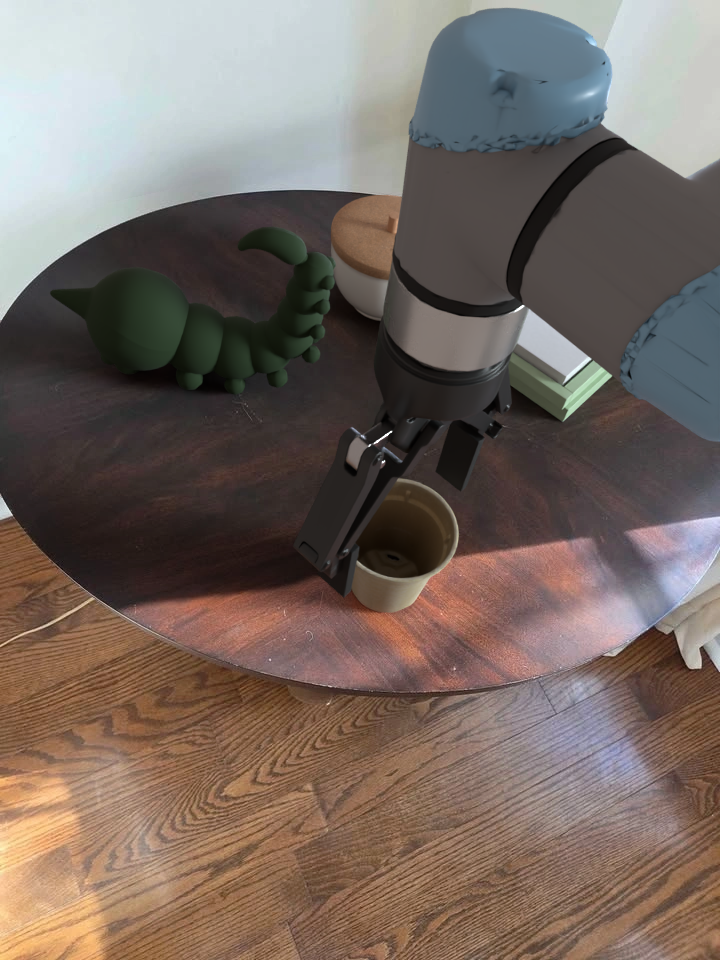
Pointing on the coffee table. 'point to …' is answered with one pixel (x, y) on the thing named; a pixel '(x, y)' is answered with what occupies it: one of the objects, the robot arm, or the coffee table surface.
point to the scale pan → (549, 350)
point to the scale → (556, 386)
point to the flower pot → (403, 546)
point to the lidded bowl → (365, 250)
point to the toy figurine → (207, 320)
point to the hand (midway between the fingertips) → (395, 528)
